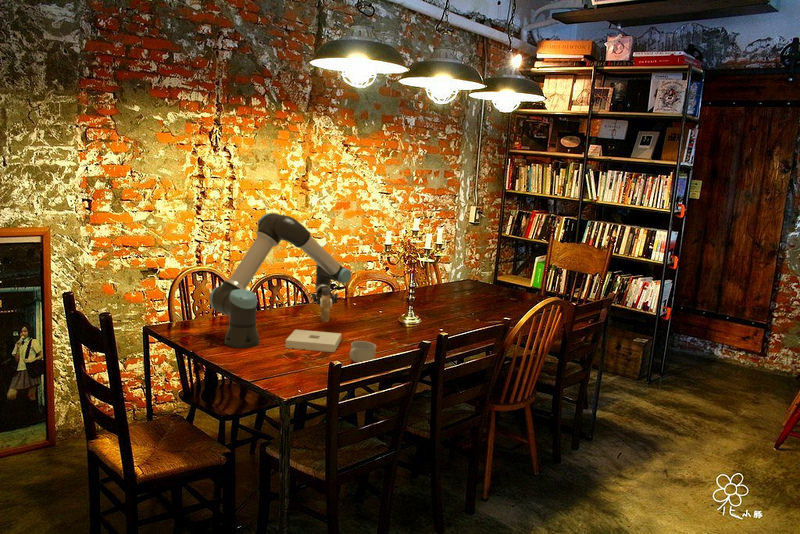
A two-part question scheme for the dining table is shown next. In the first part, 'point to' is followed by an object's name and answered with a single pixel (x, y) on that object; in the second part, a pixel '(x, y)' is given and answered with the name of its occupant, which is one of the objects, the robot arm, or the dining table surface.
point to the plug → (325, 304)
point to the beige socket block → (313, 340)
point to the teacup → (362, 351)
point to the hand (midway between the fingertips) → (326, 304)
